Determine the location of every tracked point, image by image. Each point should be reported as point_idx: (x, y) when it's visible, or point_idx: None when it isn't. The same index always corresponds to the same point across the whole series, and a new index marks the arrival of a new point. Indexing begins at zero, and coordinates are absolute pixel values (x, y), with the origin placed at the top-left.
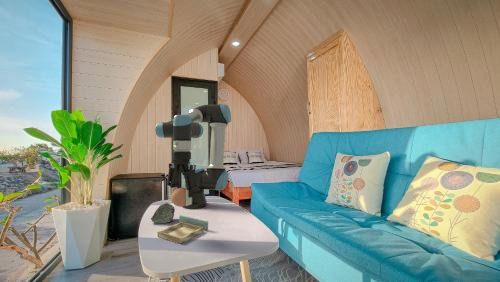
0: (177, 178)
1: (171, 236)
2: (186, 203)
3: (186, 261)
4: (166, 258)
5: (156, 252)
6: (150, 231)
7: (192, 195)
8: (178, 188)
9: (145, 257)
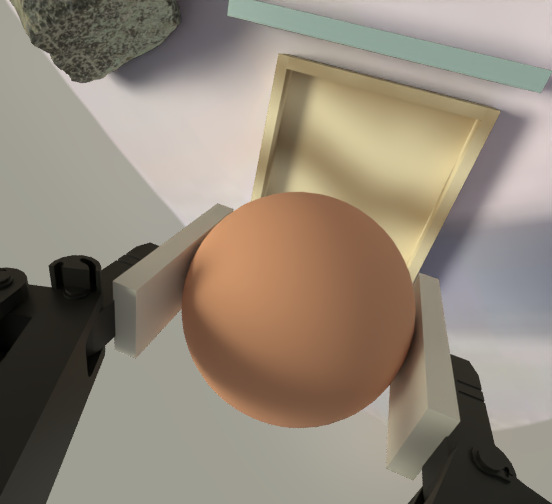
0: (36, 448)
1: None
2: None
3: (495, 398)
4: None
5: None
6: (179, 178)
7: (475, 384)
8: (230, 395)
9: None
